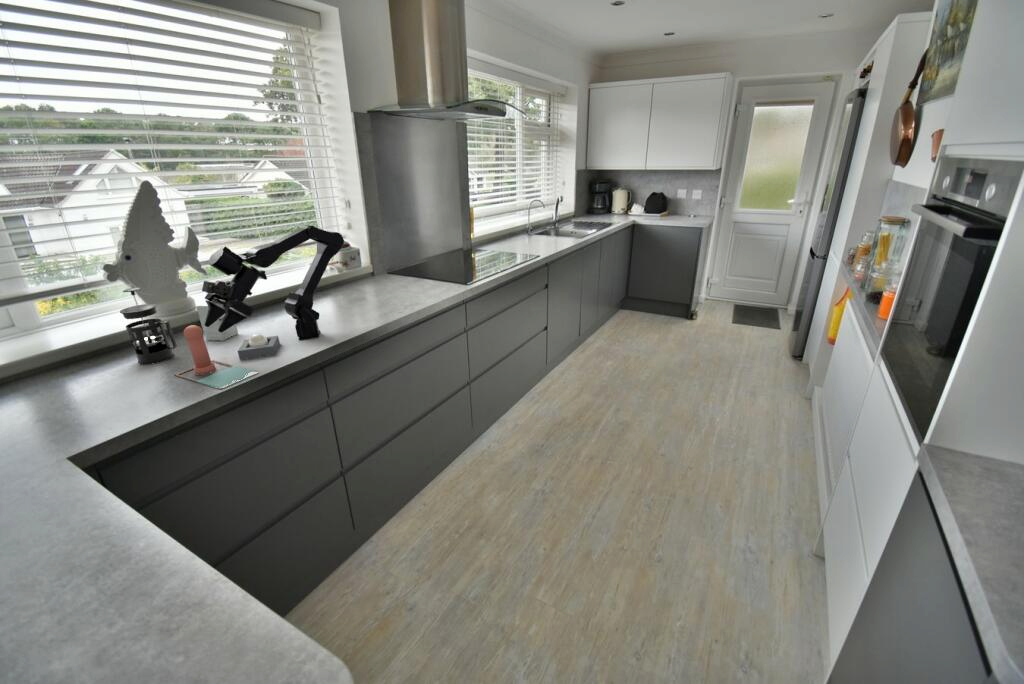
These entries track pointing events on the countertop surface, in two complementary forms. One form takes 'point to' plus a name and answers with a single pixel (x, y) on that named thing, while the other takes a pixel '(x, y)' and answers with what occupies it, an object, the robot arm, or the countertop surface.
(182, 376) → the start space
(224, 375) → the tile
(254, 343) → the cream white ball
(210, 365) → the pawn
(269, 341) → the box
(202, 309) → the supplement box
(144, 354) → the french press
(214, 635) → the countertop surface
